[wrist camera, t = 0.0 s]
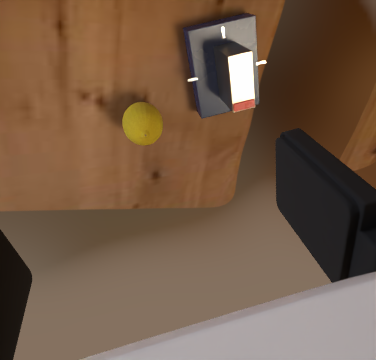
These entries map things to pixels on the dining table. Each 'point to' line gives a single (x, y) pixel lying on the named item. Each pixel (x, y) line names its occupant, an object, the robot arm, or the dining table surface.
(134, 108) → the lemon
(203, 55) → the handle panel
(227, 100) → the handle
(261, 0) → the dining table surface
